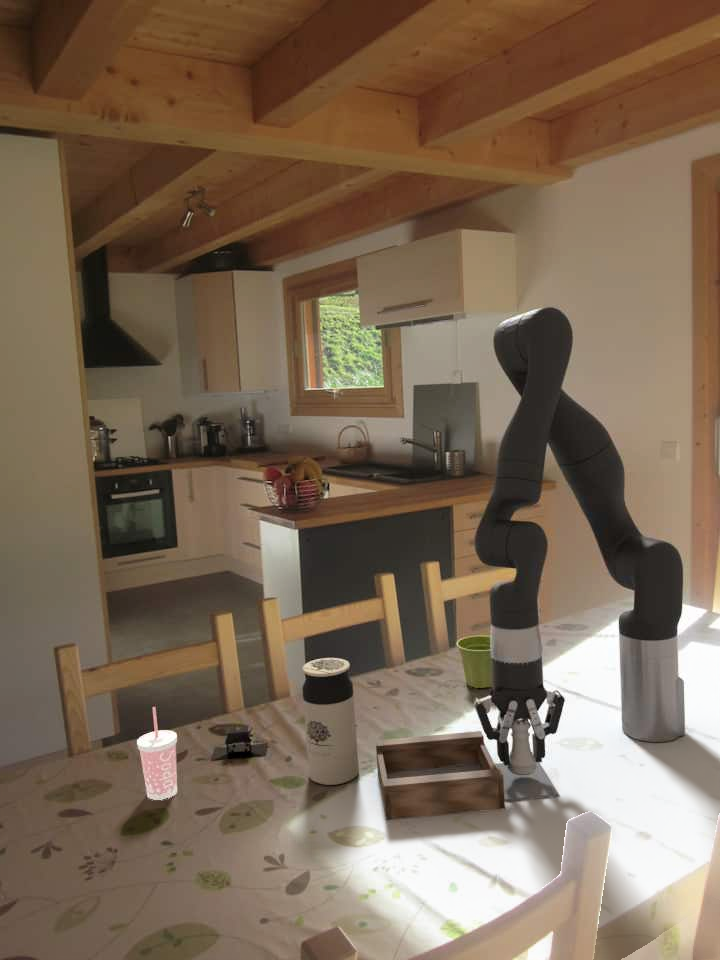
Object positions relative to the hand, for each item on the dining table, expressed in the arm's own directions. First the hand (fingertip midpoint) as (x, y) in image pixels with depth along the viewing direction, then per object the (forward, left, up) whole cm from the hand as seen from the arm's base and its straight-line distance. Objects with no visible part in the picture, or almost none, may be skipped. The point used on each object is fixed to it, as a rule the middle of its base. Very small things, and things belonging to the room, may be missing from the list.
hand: (521, 761), depth 118 cm
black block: (+45, -19, -4) cm, 49 cm away
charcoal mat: (0, 0, -3) cm, 3 cm away
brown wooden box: (+13, 0, -3) cm, 13 cm away
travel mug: (+29, -7, -3) cm, 30 cm away
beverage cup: (+56, -6, -3) cm, 56 cm away
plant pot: (-2, -40, -3) cm, 41 cm away
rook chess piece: (0, 0, -1) cm, 1 cm away
